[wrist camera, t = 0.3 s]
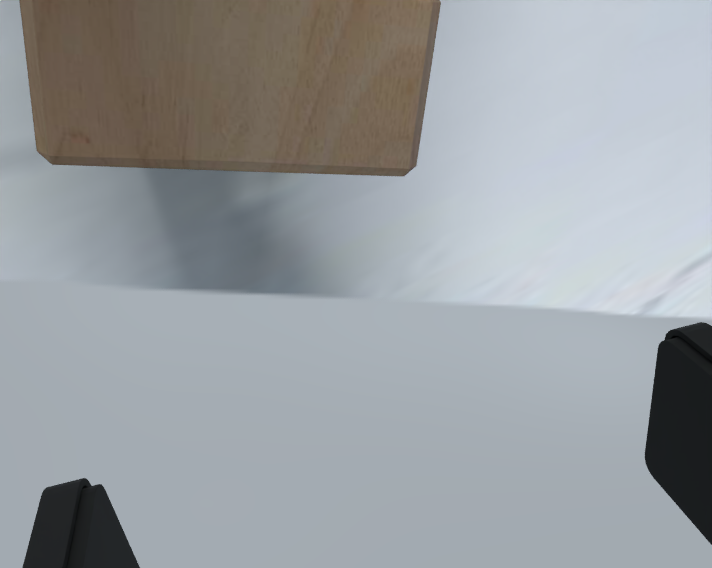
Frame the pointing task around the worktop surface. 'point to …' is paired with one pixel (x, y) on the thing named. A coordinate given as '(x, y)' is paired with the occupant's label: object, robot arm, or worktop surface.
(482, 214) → the worktop surface
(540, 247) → the worktop surface
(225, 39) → the decorative block
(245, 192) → the worktop surface
